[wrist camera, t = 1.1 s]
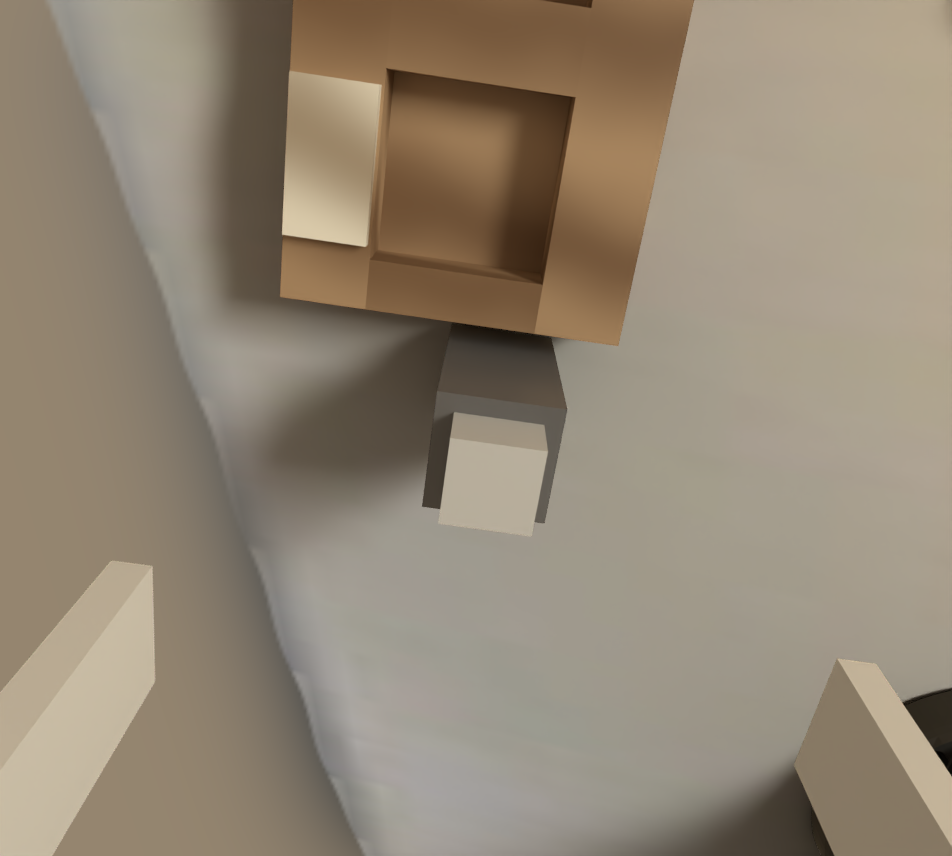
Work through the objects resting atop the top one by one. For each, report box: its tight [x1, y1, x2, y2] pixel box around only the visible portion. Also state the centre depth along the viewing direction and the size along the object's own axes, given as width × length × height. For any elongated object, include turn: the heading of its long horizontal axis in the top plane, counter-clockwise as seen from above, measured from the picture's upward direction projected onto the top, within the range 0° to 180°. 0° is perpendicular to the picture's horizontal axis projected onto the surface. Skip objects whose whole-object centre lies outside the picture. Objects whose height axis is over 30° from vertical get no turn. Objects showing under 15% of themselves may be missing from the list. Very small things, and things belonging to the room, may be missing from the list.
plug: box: [422, 323, 567, 537], centre depth 27 cm, size 4×4×10 cm
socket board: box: [280, 0, 694, 346], centre depth 25 cm, size 18×12×4 cm, turn 172°
